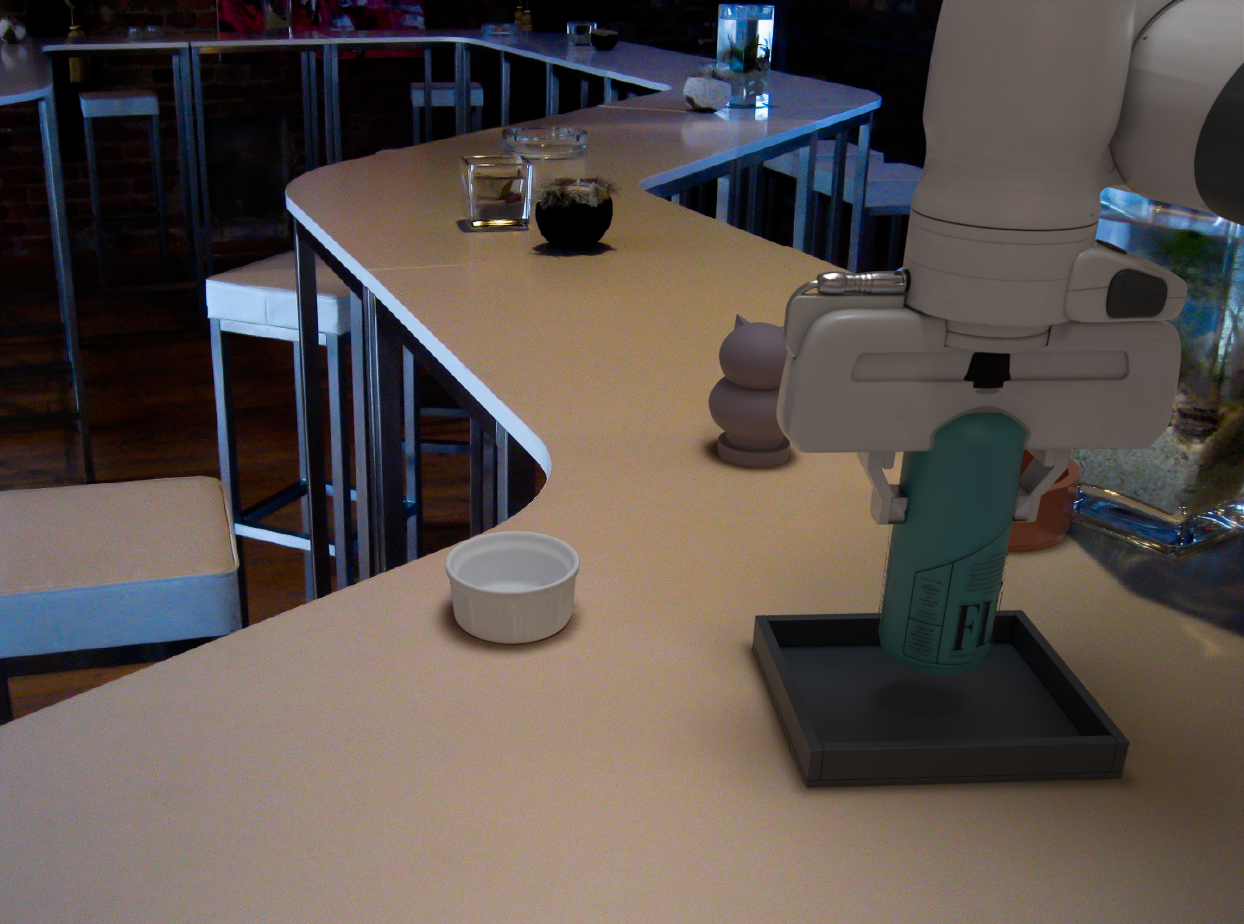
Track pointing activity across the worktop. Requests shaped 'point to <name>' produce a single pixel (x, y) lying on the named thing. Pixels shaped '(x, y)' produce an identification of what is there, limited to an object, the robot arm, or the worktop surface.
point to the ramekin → (512, 585)
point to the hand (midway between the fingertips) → (952, 519)
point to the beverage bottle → (953, 537)
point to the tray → (930, 708)
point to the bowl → (1047, 512)
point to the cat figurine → (750, 395)
